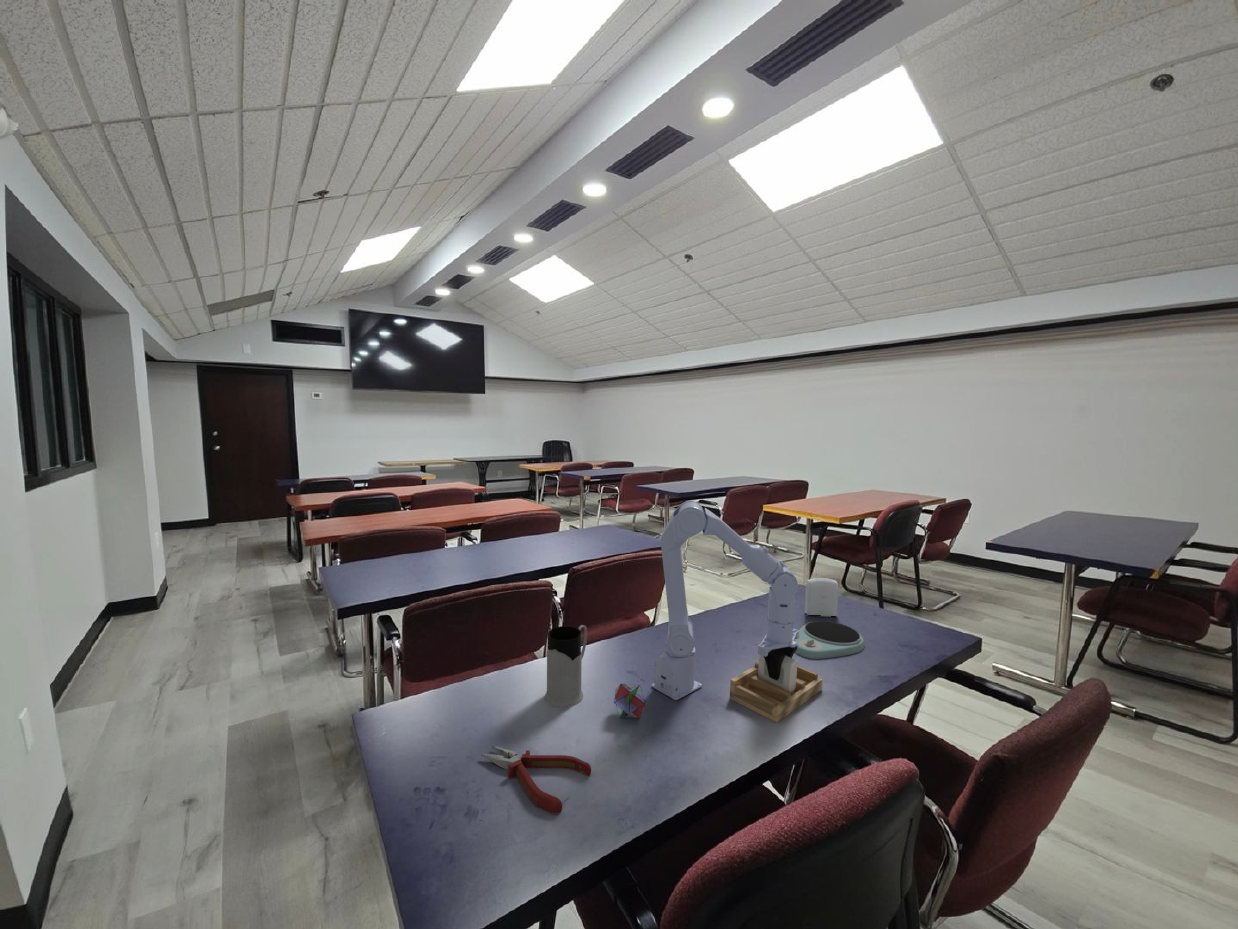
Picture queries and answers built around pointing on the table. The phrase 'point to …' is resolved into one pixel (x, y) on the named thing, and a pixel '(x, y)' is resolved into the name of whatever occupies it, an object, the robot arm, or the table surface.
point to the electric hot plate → (828, 640)
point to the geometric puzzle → (629, 700)
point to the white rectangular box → (786, 674)
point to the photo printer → (821, 597)
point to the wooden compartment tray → (773, 692)
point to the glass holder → (564, 666)
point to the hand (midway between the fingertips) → (777, 675)
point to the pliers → (520, 763)
